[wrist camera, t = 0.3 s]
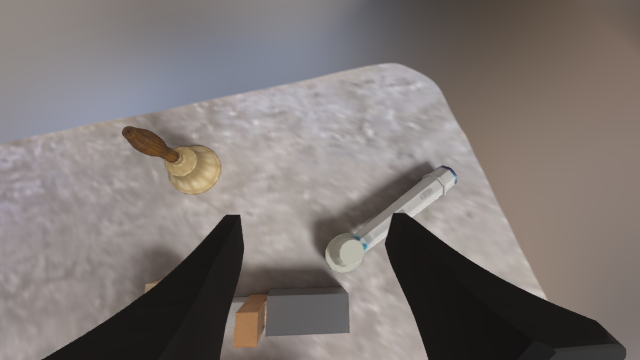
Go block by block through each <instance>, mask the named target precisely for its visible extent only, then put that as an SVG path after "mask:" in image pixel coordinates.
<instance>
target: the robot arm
mask: <svg viewBox="0 0 640 360" xmlns="http://www.w3.org/2000/svg"><path fill="white" fill-rule="evenodd" d="M385 247H386V250H387V254H388V257H389V260H390V263H391V266H392V268H393V270H394V272H395V275H396V277H397V279H398V281H399V283H400V286H401V288H402V290H403V292H404V294H405V297H406V299H407V301H408V303H409V305H410V308H411V310H412V312H413V315H414V317H415V320H416V323H417V326H418V329H419V332H420V335H421V338H422V341H423V344H424V347H425V350H426V353H427V357H428V360H624V359H625V357H626V348H625V347H624V346H623V345H622V344H620V343H619V342H618V341H617V340H616V339H615V338H614V337H613V336H612V335H611V334H610V333H609V332H608V331H607V330H606V329H605V328H603V327H602V326H601V325H600V324H599V323H598V322H597V321H595V320H592V319H590V318H587V317H585V316H582V315H580V314H577V313H575V312H572V311H570V310H567V309H565V308H562V307H560V306H558V305H555V304H553V303H551V302H548V301H546V300H544V299H542V298H540V297H537V296H535V295H533V294H531V293H529V292H527V291H525V290H523V289H521V288H519V287H517V286H515V285H513V284H511V283H509V282H507V281H505V280H503V279H501V278H499V277H498V276H496V275H494V274H492V273H490V272H489V271H487V270H485V269H484V268H482V267H480V266H479V265H477V264H475V263H474V262H472V261H471V260H469V259H467V258H466V257H464V256H463V255H461V254H460V253H458V252H457V251H456V250H454V249H453V248H451V247H450V246H448V245H447V244H446V243H444V242H443V241H442V240H440V239H439V238H438V237H436V236H435V235H434V234H432V233H431V232H430V231H428V230H427V229H426V228H425V227H423V226H422V225H421V224H419V223H418V222H417V221H416V220H414V219H413V218H412V217H410V216H409V215H407V214H406V213H393V215H392V218H391V222H390V226H389V230H388V234H387V238H386V241H385ZM243 253H244V243H243V234H242V226H241V218H240V215H226V216H224V217H223V219H222V220H221V221H220V222H219V223H218V224H217V226H216V227H215V228H214V229H213V230H212V231H211V232H210V234H209V235H208V236H207V237H206V238H205V239H204V240H203V241H202V242H201V243H200V244H199V246H198V247H197V248H196V249H195V250H194V251H193V252H192V253H191V254H190V255H189V256H188V257H187V258H186V259H185V260H183V261H182V262H181V263H180V264H179V265H178V266H177V267H176V268H175V269H174V270H173V271H172V272H171V273H169V274H168V275H167V276H166V277H165V278H164V279H162V280H161V281H160V282H159V283H158V284H156V285H155V286H154V287H153V288H151V289H150V290H149V291H147V292H146V293H145V294H143V295H142V296H141V297H139V298H138V299H137V300H135V301H134V302H132V303H131V304H130V305H128V306H127V307H126V308H124V309H123V310H121V311H120V312H118V313H117V314H115V315H114V316H112V317H111V318H109V319H108V320H106V321H105V322H103V323H102V324H100V325H99V326H97V327H96V328H94V329H92V330H91V331H89V332H88V333H86V334H84V335H83V336H81V337H79V338H78V339H76V340H74V341H73V342H71V343H69V344H68V345H66V346H64V347H62V348H61V349H59V350H57V351H56V352H54V353H52V354H51V355H49V356H47V357H46V358H44V359H42V360H220V354H221V348H222V343H223V337H224V332H225V327H226V323H227V318H228V315H229V311H230V307H231V304H232V300H233V297H234V293H235V289H236V286H237V282H238V278H239V275H240V271H241V266H242V260H243Z"/></svg>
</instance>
